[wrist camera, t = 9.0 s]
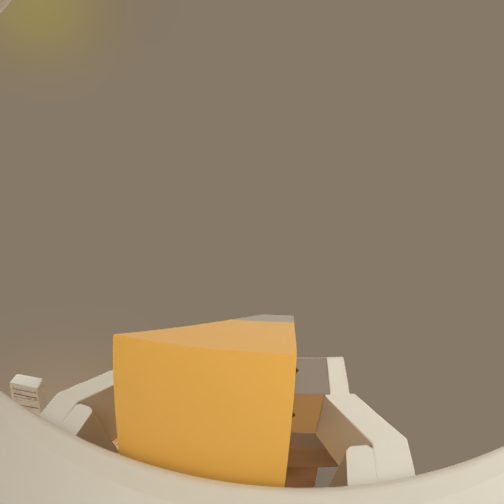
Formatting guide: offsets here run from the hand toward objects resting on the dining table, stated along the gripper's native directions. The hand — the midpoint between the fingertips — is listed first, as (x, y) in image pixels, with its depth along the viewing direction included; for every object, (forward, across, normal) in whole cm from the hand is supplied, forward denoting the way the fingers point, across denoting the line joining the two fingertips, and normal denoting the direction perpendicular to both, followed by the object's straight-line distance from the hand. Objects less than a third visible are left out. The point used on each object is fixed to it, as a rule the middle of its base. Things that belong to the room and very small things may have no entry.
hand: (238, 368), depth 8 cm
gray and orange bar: (+6, 0, +6) cm, 9 cm away
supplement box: (+10, +52, +43) cm, 68 cm away
